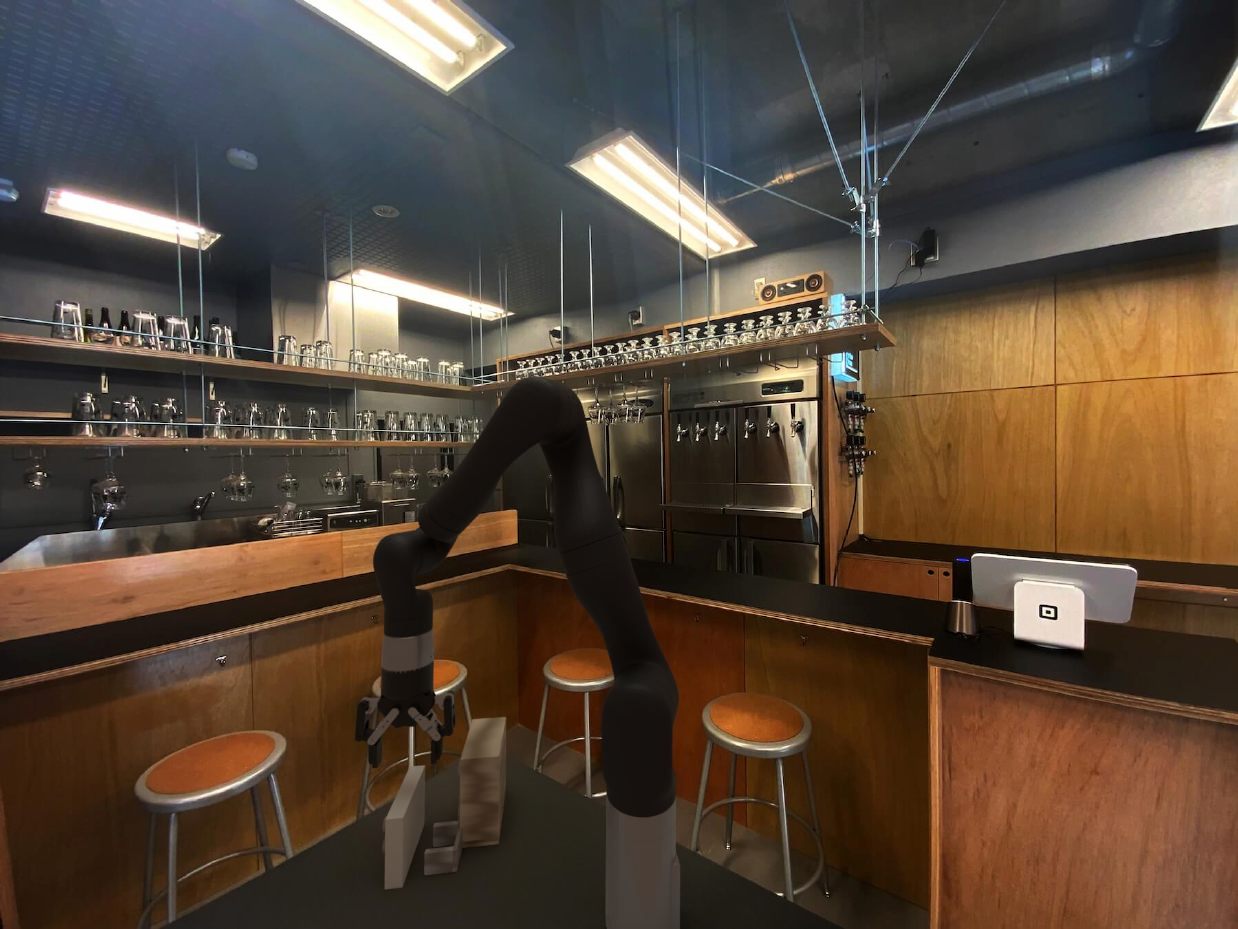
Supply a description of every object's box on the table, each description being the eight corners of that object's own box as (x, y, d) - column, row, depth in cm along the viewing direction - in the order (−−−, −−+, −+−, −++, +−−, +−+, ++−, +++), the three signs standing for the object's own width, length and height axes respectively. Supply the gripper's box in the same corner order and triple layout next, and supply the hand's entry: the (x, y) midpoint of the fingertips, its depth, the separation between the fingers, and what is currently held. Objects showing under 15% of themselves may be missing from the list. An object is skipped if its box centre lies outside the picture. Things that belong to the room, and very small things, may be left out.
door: (402, 887, 68) (403, 817, 68) (375, 891, 67) (376, 820, 67) (424, 825, 79) (425, 765, 79) (401, 827, 79) (402, 767, 79)
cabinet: (505, 792, 87) (506, 717, 87) (495, 867, 71) (496, 774, 71) (448, 798, 86) (448, 721, 86) (424, 875, 69) (425, 780, 70)
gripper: (349, 671, 69) (346, 783, 69) (450, 667, 71) (448, 775, 71) (368, 651, 76) (366, 752, 76) (460, 648, 78) (458, 745, 78)
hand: (406, 763), depth 73 cm, fingers open, 8 cm apart
